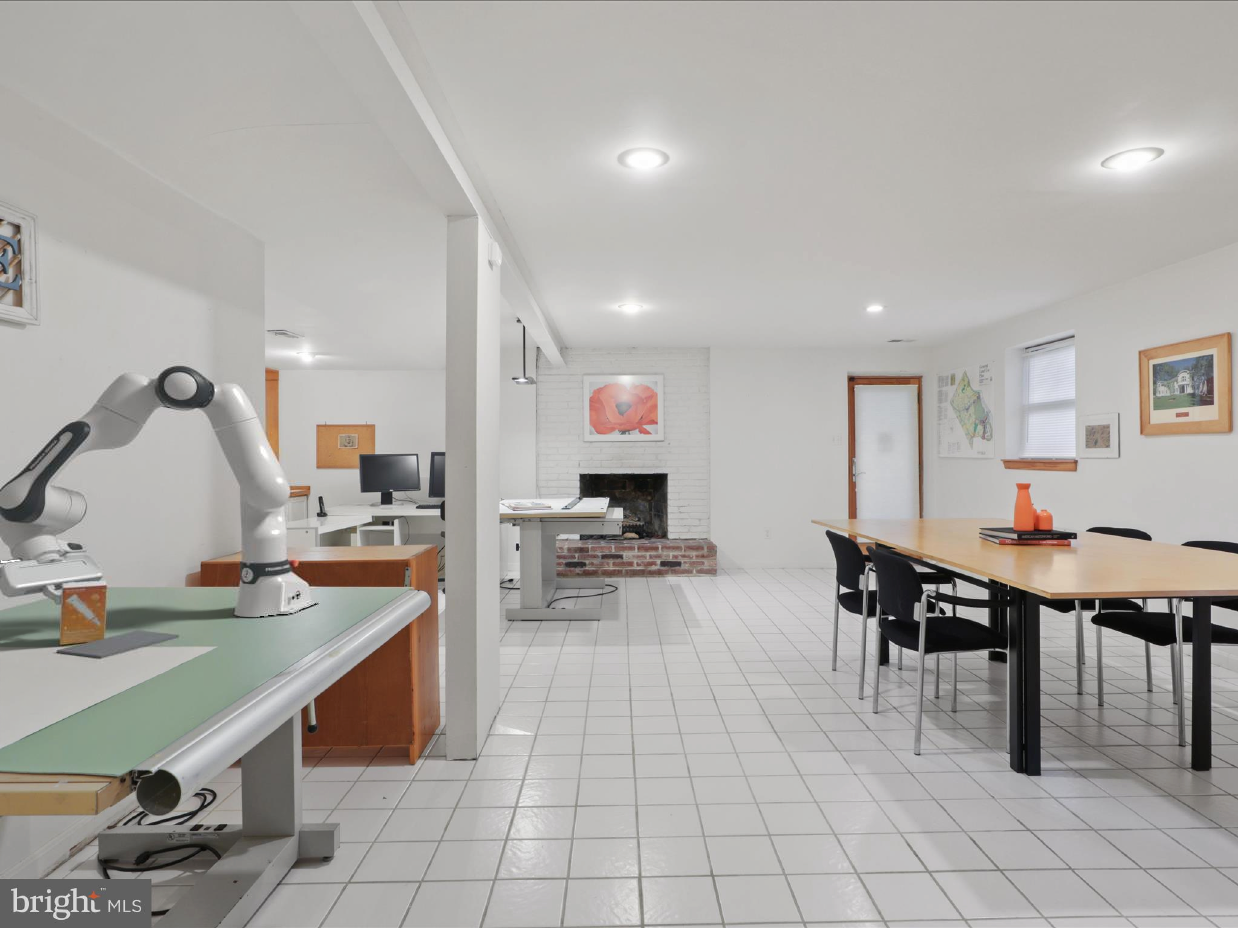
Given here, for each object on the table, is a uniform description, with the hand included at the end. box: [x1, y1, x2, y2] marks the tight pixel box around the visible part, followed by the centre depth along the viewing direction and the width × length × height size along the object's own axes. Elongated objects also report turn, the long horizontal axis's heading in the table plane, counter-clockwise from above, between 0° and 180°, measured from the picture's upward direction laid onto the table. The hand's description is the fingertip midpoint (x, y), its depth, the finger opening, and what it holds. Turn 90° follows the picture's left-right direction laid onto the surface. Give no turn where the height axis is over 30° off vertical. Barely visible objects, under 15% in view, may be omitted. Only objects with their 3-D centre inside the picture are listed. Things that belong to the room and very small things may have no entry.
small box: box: [59, 579, 108, 646], centre depth 155 cm, size 8×6×13 cm
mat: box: [56, 630, 180, 659], centre depth 153 cm, size 18×13×1 cm
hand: (67, 601), depth 157 cm, fingers closed
